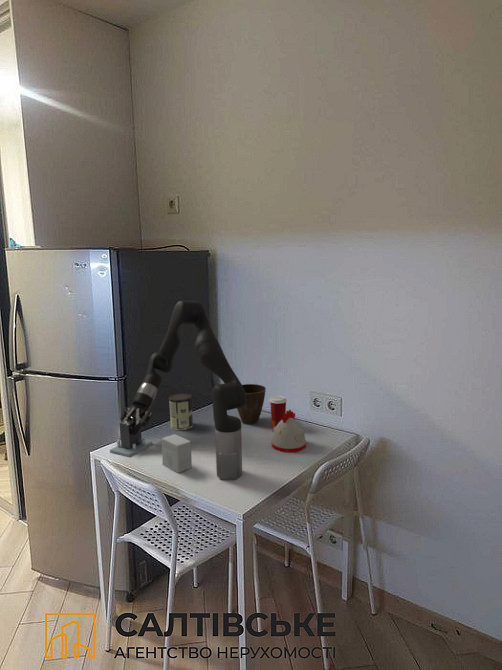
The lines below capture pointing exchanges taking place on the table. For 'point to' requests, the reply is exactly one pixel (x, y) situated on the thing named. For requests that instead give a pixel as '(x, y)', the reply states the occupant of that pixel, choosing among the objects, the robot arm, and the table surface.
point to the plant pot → (252, 403)
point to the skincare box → (176, 453)
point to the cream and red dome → (288, 434)
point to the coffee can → (181, 411)
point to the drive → (129, 434)
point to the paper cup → (277, 409)
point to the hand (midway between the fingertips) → (127, 432)
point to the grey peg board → (130, 452)
